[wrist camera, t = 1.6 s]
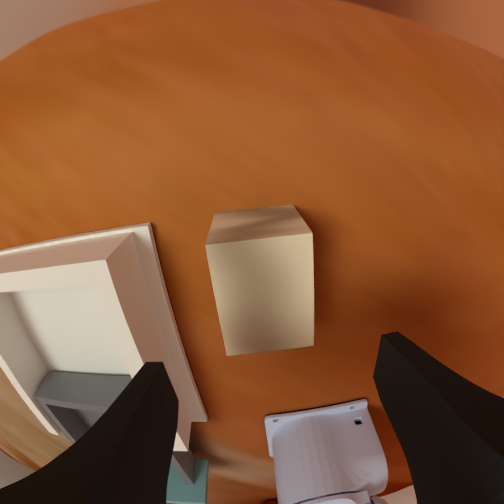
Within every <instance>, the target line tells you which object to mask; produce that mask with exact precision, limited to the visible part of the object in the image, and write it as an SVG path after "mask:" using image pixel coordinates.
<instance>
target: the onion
mask: <svg viewBox="0 0 504 504" xmlns="http://www.w3.org/2000/svg"><path fill="white" fill-rule="evenodd" d="M264 504H278V503H277V502H276V501H274V500H269V501H267V502H266V503H264Z"/></svg>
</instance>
